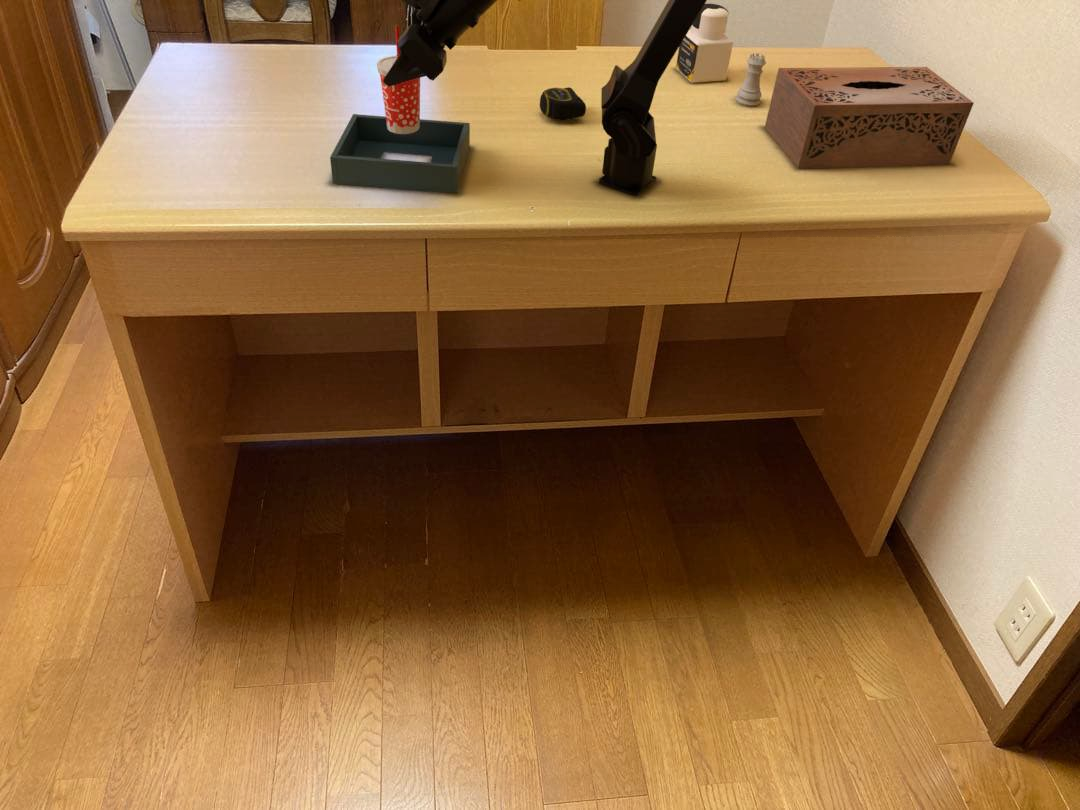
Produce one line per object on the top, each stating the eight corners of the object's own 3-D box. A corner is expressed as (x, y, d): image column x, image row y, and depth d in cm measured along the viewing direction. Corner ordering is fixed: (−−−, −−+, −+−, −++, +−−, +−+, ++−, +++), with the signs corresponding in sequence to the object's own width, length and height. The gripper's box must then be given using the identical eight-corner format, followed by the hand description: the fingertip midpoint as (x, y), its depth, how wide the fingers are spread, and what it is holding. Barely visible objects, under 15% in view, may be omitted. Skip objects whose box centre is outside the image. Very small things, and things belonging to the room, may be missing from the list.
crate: (469, 147, 133) (469, 122, 130) (457, 193, 122) (457, 167, 119) (355, 139, 133) (353, 113, 130) (332, 183, 122) (329, 157, 119)
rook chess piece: (765, 105, 151) (776, 59, 146) (743, 108, 150) (753, 61, 144) (751, 95, 154) (761, 50, 149) (730, 98, 153) (739, 52, 147)
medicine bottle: (675, 68, 162) (685, 1, 154) (709, 66, 164) (721, -1, 156) (690, 83, 157) (702, 14, 149) (726, 81, 159) (739, 12, 151)
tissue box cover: (797, 168, 133) (814, 105, 127) (764, 128, 144) (778, 68, 137) (949, 164, 137) (973, 102, 131) (906, 125, 148) (926, 66, 141)
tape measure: (586, 123, 142) (588, 100, 139) (546, 126, 140) (548, 103, 137) (572, 106, 146) (574, 84, 144) (533, 109, 145) (535, 86, 142)
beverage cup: (376, 121, 124) (367, 19, 115) (417, 115, 126) (412, 15, 117) (388, 139, 120) (380, 35, 111) (430, 133, 122) (426, 30, 113)
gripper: (434, -76, 114) (359, 6, 122) (410, -37, 100) (327, 54, 108) (493, -9, 119) (417, 66, 127) (478, 38, 105) (394, 119, 113)
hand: (390, 74), depth 118 cm, fingers closed on beverage cup, 6 cm apart
